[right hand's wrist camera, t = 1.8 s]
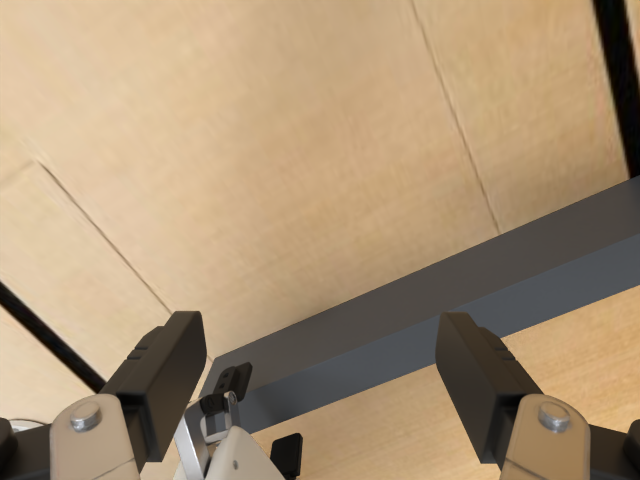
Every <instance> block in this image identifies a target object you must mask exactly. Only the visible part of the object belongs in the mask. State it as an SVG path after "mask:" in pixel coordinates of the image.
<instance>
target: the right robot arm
mask: <svg viewBox="0 0 640 480" xmlns="http://www.w3.org/2000/svg"><path fill="white" fill-rule="evenodd" d="M206 357H207V349H206V342H205V335H204V328H203V321H202V315H201V313H200V312H199V311H175V312H174V313H173V314H172V316H171V317H170V319H169V320H168V321H167V323H166V324H165V325H164V326H158V327H156V328H155V329H153V330H152V331H150V332H149V333H147V334H146V335H145V336H143V338H142V339H141V340H140V341H139V343H138V344H137V345H136V347H135V349H134V350H132V352H131V353H130V354H129V355H128V357H127V360H124V362H123V363H122V364H121V365H120V367H119V368H118V369H117V371H116V372H115V373H114V374H113V376H112V377H111V378H110V379H109V381H108V382H107V383H106V384H105V386H104V387H103V388H102V390H101V391H100V392H99V393H98V394H96V395H92V396H88V397H86V398H83V399H81V400H79V401H77V402H75V403H73V404H71V405H70V406H68V407H67V408H66V409H64V410H63V411H62V412H61V413H60V414H59V415H58V416H57V417H56V418H55V420H54V421H53V423H51V424H47V425H43V426H39V427H35V428H31V429H27V430H23V431H19V432H15V433H14V431H13V428H12V426H11V424H10V422H9V421H8V420H7V419H5V418H0V480H141V479H140V473H141V471H142V469H143V467H144V465H145V463H146V462H162V460H163V458H164V456H165V454H166V452H167V449H168V447H169V445H170V443H171V441H172V438H173V436H174V434H175V432H176V430H177V427H178V425H179V423H180V421H181V419H182V416H183V414H184V412H185V410H186V407H187V405H188V403H189V401H190V399H191V396H192V394H193V392H194V390H195V388H196V385H197V383H198V381H199V379H200V377H201V374H202V372H203V370H204V367H205V364H206ZM435 360H436V365H437V369H438V371H439V373H440V376H441V378H442V380H443V382H444V384H445V386H446V389H447V391H448V393H449V395H450V397H451V400H452V402H453V404H454V406H455V408H456V410H457V413H458V415H459V417H460V419H461V421H462V424H463V426H464V428H465V430H466V432H467V434H468V437H469V439H470V441H471V443H472V445H473V447H474V450H475V452H476V454H477V456H478V458H479V461H480V463H481V464H497V465H498V467H499V469H500V471H501V475H500V479H499V480H640V419H638V420H635V421H633V423H632V424H631V426H630V428H629V431H628V433H623V432H619V431H615V430H611V429H607V428H602V427H598V426H594V425H591V424H588V423H587V421H586V420H585V418H584V417H583V416H582V415H581V414H580V413H579V412H578V411H577V410H576V409H574V408H573V407H572V406H570V405H569V404H567V403H565V402H563V401H561V400H559V399H557V398H554V397H552V396H548V395H544V393H543V392H542V391H541V390H540V388H539V387H538V386H537V385H536V383H535V382H534V381H533V380H532V378H531V377H530V376H529V374H528V373H527V372H526V371H525V369H524V368H523V367H522V366H521V364H520V363H519V362H518V361H516V360H515V357H514V356H513V354H512V353H511V352H510V351H508V348H507V347H506V346H505V344H504V343H503V342H502V341H501V339H500V338H499V337H498V336H497V335H495V334H494V333H492V332H491V331H489V330H488V329H486V328H485V327H478V326H477V325H476V323H475V322H474V320H473V319H472V318H471V316H470V315H469V314H468V313H467V312H442V313H441V315H440V320H439V327H438V334H437V341H436V348H435Z"/></svg>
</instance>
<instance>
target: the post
mask: <svg viewBox="0 0 640 480" xmlns="http://www.w3.org/2000/svg"><path fill="white" fill-rule="evenodd" d="M638 285H640V175H639V176H637V177H634V178H632V179H630V180H627V181H625V182H623V183H620V184H618V185H616V186H613V187H611V188H609V189H606V190H604V191H602V192H599V193H597V194H595V195H593V196H590V197H588V198H586V199H583V200H581V201H579V202H576V203H574V204H572V205H569V206H567V207H565V208H562V209H560V210H558V211H555V212H553V213H551V214H548V215H546V216H544V217H542V218H539V219H537V220H535V221H532V222H530V223H528V224H525V225H523V226H521V227H518V228H516V229H514V230H511V231H509V232H507V233H504V234H502V235H500V236H498V237H495V238H493V239H491V240H488V241H486V242H484V243H481V244H479V245H477V246H474V247H472V248H470V249H467V250H465V251H463V252H460V253H458V254H456V255H454V256H451V257H449V258H447V259H444V260H442V261H440V262H437V263H435V264H433V265H430V266H428V267H426V268H423V269H421V270H419V271H416V272H414V273H412V274H409V275H407V276H405V277H403V278H400V279H398V280H396V281H393V282H391V283H389V284H386V285H384V286H382V287H379V288H377V289H375V290H372V291H370V292H368V293H365V294H363V295H361V296H359V297H356V298H354V299H352V300H349V301H347V302H345V303H342V304H340V305H338V306H335V307H333V308H331V309H328V310H326V311H324V312H321V313H319V314H317V315H314V316H312V317H310V318H308V319H305V320H303V321H301V322H298V323H296V324H294V325H291V326H289V327H287V328H284V329H282V330H280V331H277V332H275V333H273V334H270V335H268V336H266V337H264V338H261V339H259V340H257V341H254V342H252V343H250V344H247V345H245V346H243V347H240V348H238V349H236V350H233V351H231V352H229V353H226V354H224V355H222V356H219V357H217V358H215V360H214V362H213V364H212V367H211V369H210V371H209V374H208V376H207V378H206V381H205V383H204V385H203V388H202V390H201V392H200V395H199V397H198V399H199V398H201V397H204V396H206V395H209V394H212V393H213V391H214V388H215V386H216V383H217V381H218V378H219V376H220V374H221V373H222V371H224V370H225V369H227V368H229V367H231V366H235V367H236V366H238V365H241V364H243V363H246V362H250V363H251V365H252V366H253V368H252V369H253V370H252V373H251V377H250V380H249V384H248V387H247V390H246V394H245V397H244V399H243V400H242V401H241V402H238V409H239V417H240V424H241V428H242V429H244V430H245V431H246V432H248V433H249V434H252V433H255V432H257V431H260V430H263V429H265V428H268V427H270V426H273V425H276V424H278V423H281V422H283V421H286V420H289V419H291V418H294V417H296V416H299V415H302V414H304V413H307V412H309V411H312V410H315V409H317V408H320V407H323V406H325V405H328V404H330V403H333V402H336V401H338V400H341V399H343V398H346V397H349V396H351V395H354V394H356V393H359V392H362V391H364V390H367V389H369V388H372V387H375V386H377V385H380V384H382V383H385V382H388V381H390V380H393V379H396V378H398V377H401V376H403V375H406V374H409V373H411V372H414V371H416V370H419V369H422V368H424V367H427V366H429V365H432V364H435V363H436V360H435V348H436V341H437V334H438V327H439V320H440V315H441V313H442V312H467V313H468V314H469V315H470V316H471V318H472V319H473V320H474V322H475V323H476V325H477V326H478V327H485V328H486V329H488V330H489V331H491V332H492V333H494V334H495V335H497V336H498V337H499V338H502V337H505V336H508V335H510V334H513V333H515V332H518V331H521V330H523V329H526V328H528V327H531V326H534V325H536V324H539V323H541V322H544V321H547V320H549V319H552V318H555V317H557V316H560V315H562V314H565V313H568V312H570V311H573V310H575V309H578V308H581V307H583V306H586V305H588V304H591V303H594V302H596V301H599V300H601V299H604V298H607V297H609V296H612V295H614V294H617V293H620V292H622V291H625V290H628V289H630V288H633V287H635V286H638ZM215 423H216V433H218V432H220V431H223V430H226V424H225V416H224V412H222V413H219V414H216V415H215ZM219 444H220V443H218V444H216V447H218V446H219Z"/></svg>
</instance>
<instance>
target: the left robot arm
mask: <svg viewBox="0 0 640 480" xmlns="http://www.w3.org/2000/svg"><path fill="white" fill-rule="evenodd" d="M252 368H253V366H252V365H251V363H250V362H246V363H243V364H241V365H238V366H236V367H235V366H231V367H229V368H227V369H225V370H224V371H222V373H221V374H220V376H219V378H218V381H217V383H216V386H215V388H214V391H213V393H212V394H209V395H206V396H204V397H201V398H199V399H196V400H193V401H191V402H189V403H188V405H187V407H186V410H185V412H184V414H183V416H182V419H181V421H180V423H179V425H178V427H177V430H176V432H175V434H174V436H173V437H174V440H175V443H176V446H177V449H178V452H179V455H180V458H181V459H180V462H179V464H178V467H177V469H176V472H175V475H174V477H173V480H300V479H299V478H296V476H299V475H300V468H301V456H302V443H303V437H302V436H301V434H300V433H295V434H292V435H289V436H286V437H283V438H280V439H278V440H275V441H274V442H273V444H272V449H271V455H270V459H269V457H268V456H267V455H266V454H265V452H264V451H263V450H262V449H261V447H260V446H259V445H258V444H257V442H256V441H255V440H254V439H253V438H252V436H251V435H250V434H249V433H248V432H246V431H245V430H244V429H242V428H241V424H240V417H239V409H238V402H241V401H242V400H243V399H244V397H245V394H246V390H247V387H248V384H249V380H250V377H251V373H252V370H253V369H252ZM222 412H224V416H225V424H226V430H223V431H220V432H218V433H216V423H215V415H216V414H219V413H222ZM9 422H10V424H11V426H12V428H13V431H14V433H15V432H19V431H23V430H27V429H31V428H35V427H39V426H43V424H39V423H36V422H31V421H24V420H13V421H9ZM218 443H220V444H219V446H218V447H217V449H216V444H218Z"/></svg>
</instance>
